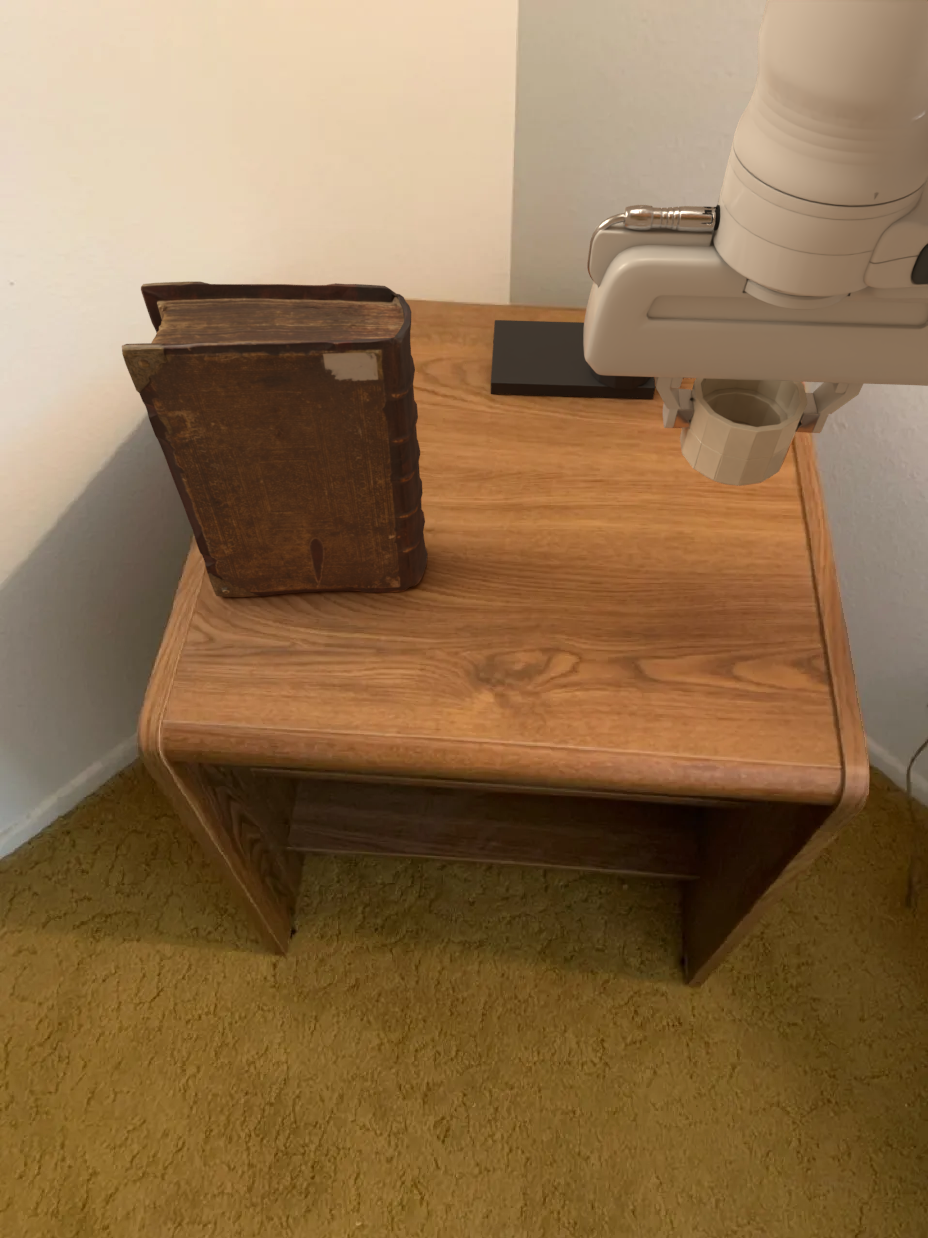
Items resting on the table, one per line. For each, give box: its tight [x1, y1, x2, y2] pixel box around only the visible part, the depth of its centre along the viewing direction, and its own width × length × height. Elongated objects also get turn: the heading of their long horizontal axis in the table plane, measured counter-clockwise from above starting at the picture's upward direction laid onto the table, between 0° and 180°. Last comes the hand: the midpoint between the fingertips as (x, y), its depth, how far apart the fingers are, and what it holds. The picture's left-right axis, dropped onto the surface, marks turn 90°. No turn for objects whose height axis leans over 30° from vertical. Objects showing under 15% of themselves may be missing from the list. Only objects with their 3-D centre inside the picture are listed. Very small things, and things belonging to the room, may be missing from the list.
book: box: [121, 281, 429, 598], centre depth 64 cm, size 17×7×25 cm, turn 85°
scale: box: [490, 319, 656, 400], centre depth 87 cm, size 15×9×3 cm, turn 87°
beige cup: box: [679, 378, 808, 487], centre depth 56 cm, size 6×6×5 cm
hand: (740, 423), depth 56 cm, fingers closed on beige cup, 6 cm apart
